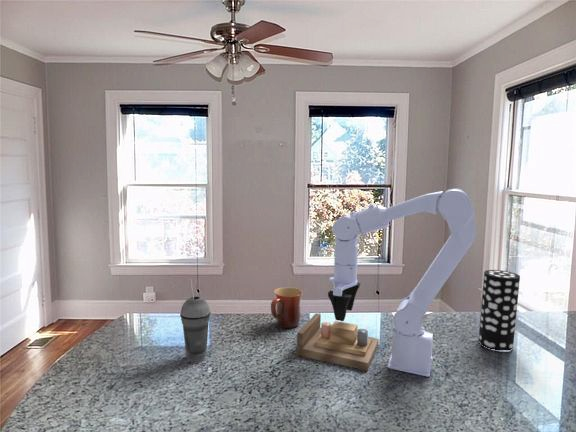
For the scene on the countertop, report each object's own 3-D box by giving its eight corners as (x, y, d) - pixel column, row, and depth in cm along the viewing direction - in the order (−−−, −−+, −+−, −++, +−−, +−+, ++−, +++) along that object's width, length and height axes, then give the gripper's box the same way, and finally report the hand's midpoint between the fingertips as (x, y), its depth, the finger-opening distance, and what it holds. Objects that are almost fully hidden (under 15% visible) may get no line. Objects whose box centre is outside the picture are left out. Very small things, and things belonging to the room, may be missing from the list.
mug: (285, 316, 122) (285, 285, 120) (308, 323, 116) (308, 291, 115) (260, 328, 112) (260, 295, 111) (283, 337, 107) (284, 301, 106)
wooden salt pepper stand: (371, 342, 100) (372, 324, 99) (365, 356, 93) (366, 336, 92) (324, 333, 105) (324, 315, 104) (314, 345, 98) (315, 326, 97)
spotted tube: (504, 339, 108) (510, 270, 105) (519, 353, 99) (526, 279, 97) (473, 337, 108) (479, 269, 106) (485, 351, 100) (492, 277, 98)
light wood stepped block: (378, 345, 102) (379, 324, 102) (367, 371, 90) (368, 346, 89) (315, 333, 109) (315, 313, 109) (296, 355, 97) (297, 332, 96)
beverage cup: (203, 367, 90) (202, 285, 88) (175, 363, 92) (173, 283, 89) (215, 352, 97) (215, 276, 95) (189, 349, 99) (187, 274, 96)
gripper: (338, 255, 104) (336, 303, 106) (321, 267, 91) (320, 322, 93) (363, 258, 102) (361, 307, 103) (350, 271, 88) (348, 327, 90)
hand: (343, 314), depth 98 cm, fingers open, 7 cm apart
